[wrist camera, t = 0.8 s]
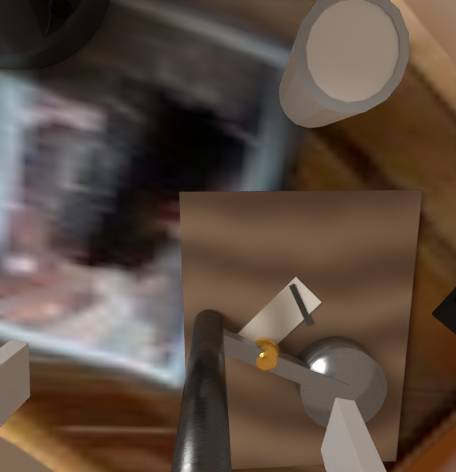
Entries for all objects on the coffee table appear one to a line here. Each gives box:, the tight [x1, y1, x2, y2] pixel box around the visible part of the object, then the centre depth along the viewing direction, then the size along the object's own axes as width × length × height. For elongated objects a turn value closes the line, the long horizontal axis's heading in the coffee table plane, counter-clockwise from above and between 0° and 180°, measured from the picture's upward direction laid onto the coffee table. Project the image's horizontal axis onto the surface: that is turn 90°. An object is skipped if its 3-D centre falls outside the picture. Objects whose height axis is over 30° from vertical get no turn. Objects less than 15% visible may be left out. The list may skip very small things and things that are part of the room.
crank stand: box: [179, 190, 422, 469], centre depth 26 cm, size 26×20×2 cm
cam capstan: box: [171, 309, 387, 472], centre depth 18 cm, size 17×7×14 cm, turn 66°
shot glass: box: [279, 0, 409, 128], centre depth 20 cm, size 7×7×7 cm
